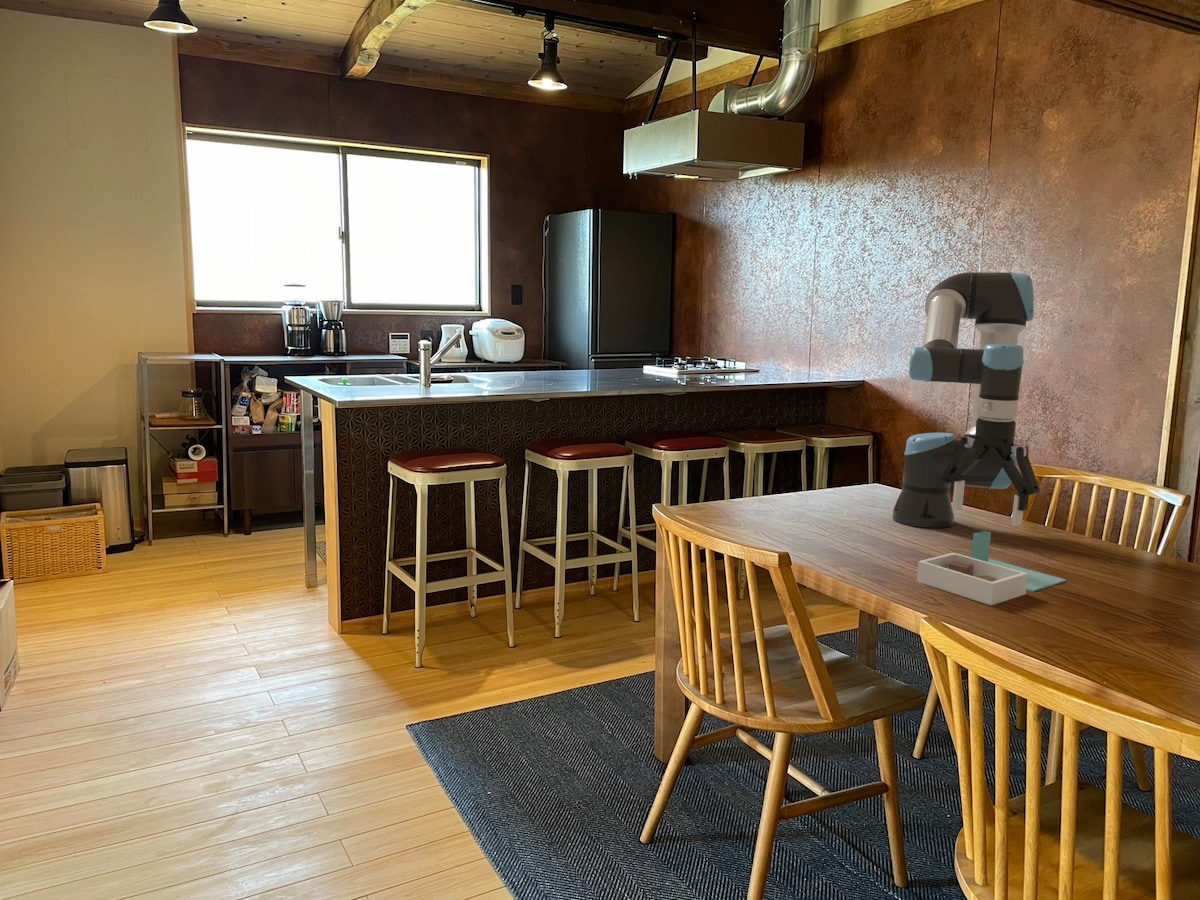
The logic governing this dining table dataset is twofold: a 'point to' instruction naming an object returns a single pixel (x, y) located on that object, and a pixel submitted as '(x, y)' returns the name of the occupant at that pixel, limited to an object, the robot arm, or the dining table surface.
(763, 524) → the dining table surface
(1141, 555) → the dining table surface
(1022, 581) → the tub
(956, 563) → the walnut block
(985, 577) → the walnut block
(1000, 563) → the lid
